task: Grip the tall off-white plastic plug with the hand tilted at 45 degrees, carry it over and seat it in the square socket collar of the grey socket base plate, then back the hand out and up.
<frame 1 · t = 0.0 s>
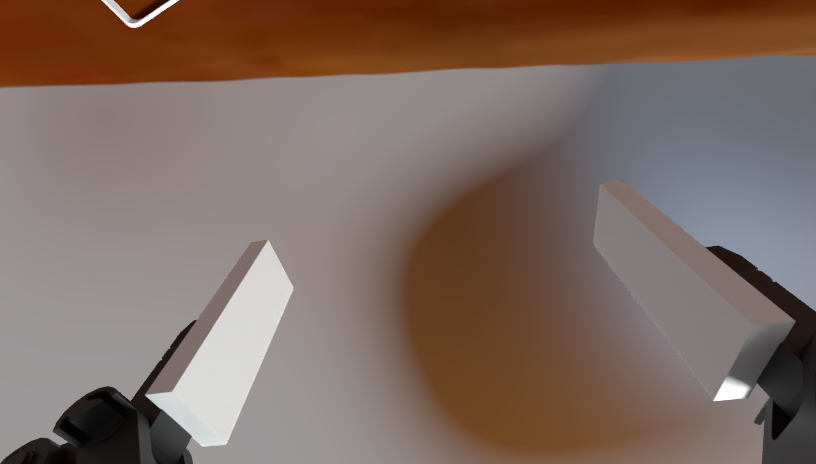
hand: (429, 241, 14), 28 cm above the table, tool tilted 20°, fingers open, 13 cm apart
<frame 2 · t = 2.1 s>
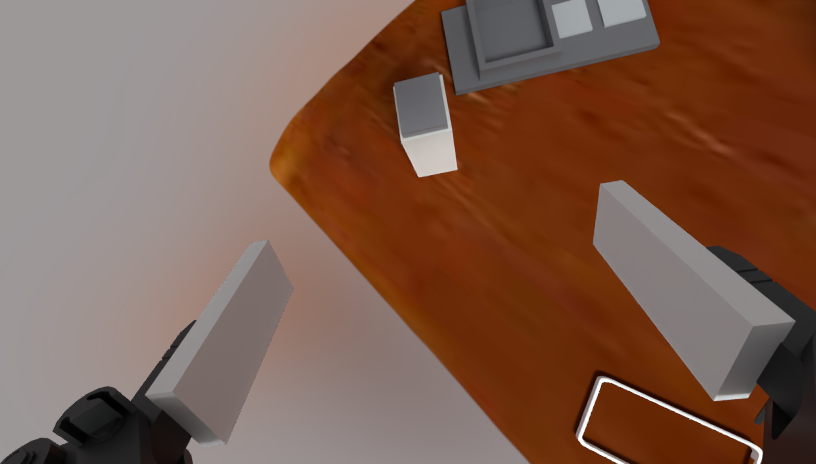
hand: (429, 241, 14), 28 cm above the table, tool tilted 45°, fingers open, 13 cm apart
silver rectangular frame: (658, 438, 35), on the table
plug: (434, 151, 43), on the table
grey socket base plate: (541, 32, 43), on the table
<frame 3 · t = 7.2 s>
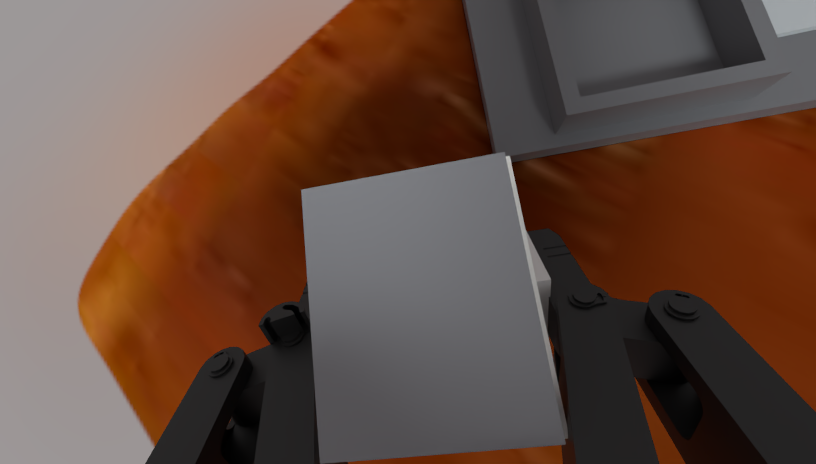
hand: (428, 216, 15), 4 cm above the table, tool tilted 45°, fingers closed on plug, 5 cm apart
plug: (444, 298, 18), on the table, touching gripper
grey socket base plate: (690, 27, 19), on the table
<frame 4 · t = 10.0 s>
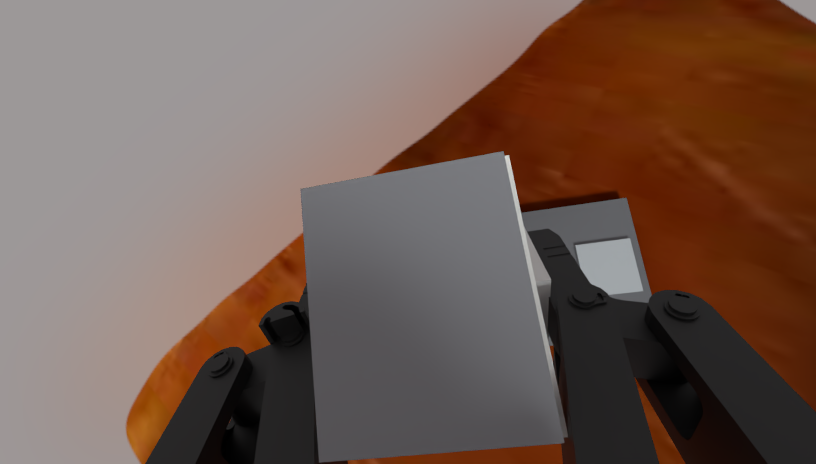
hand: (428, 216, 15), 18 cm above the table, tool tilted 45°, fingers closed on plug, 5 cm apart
plug: (444, 298, 18), point 14 cm above the table, touching gripper
grey socket base plate: (501, 280, 32), on the table
when the fingers open (6 cm above the table, at t = 13.1 s): plug drops 1 cm, resting on grey socket base plate.
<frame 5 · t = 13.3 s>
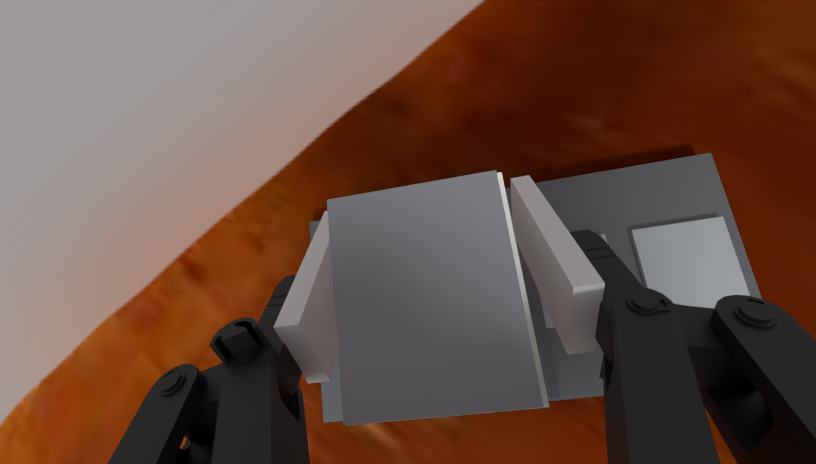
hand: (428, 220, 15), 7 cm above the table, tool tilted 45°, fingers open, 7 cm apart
plug: (445, 298, 20), point 1 cm above the table, touching grey socket base plate
grey socket base plate: (512, 289, 20), on the table
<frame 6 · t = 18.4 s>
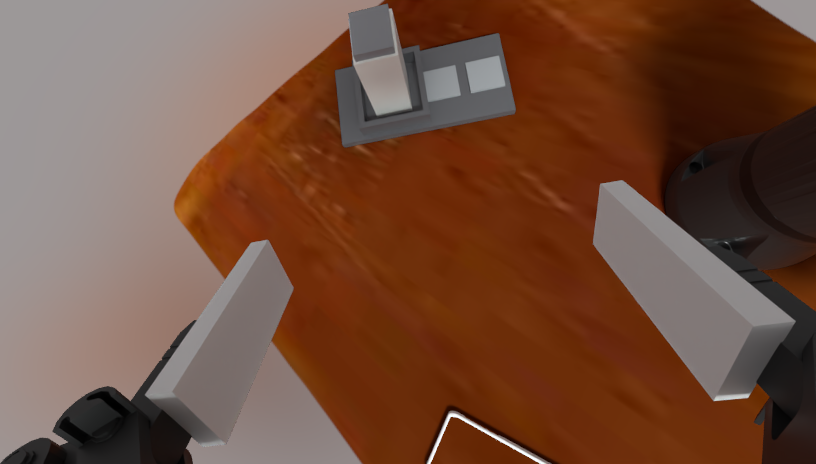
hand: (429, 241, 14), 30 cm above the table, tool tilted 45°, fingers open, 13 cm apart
plug: (392, 95, 47), point 1 cm above the table, touching grey socket base plate
grey socket base plate: (420, 93, 48), on the table
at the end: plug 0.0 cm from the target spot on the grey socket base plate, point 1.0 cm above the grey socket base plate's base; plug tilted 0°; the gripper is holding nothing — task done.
